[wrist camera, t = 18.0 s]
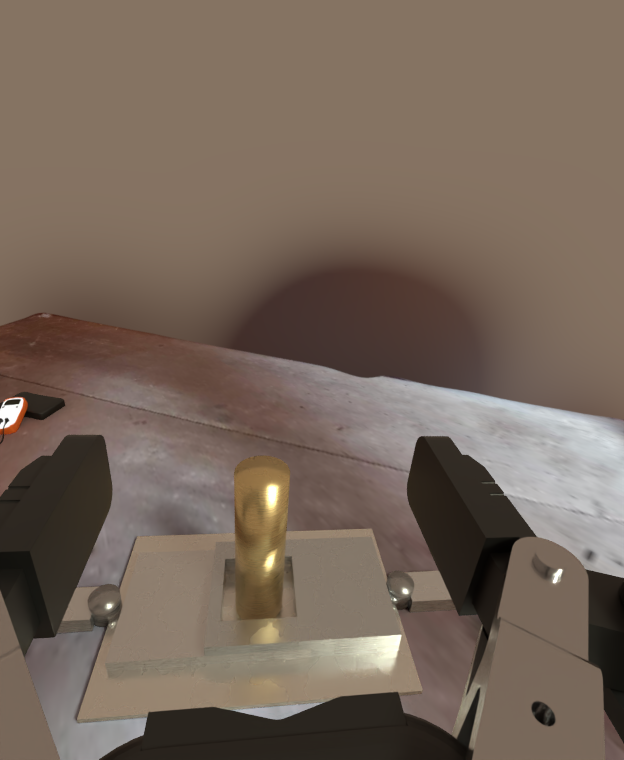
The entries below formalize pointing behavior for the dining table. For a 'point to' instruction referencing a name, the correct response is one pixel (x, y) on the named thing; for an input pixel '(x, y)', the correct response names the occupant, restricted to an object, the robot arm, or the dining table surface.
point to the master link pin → (260, 535)
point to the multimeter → (26, 410)
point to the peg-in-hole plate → (249, 627)
